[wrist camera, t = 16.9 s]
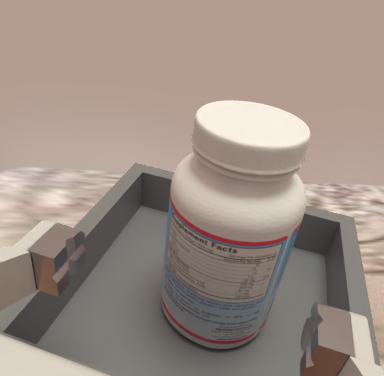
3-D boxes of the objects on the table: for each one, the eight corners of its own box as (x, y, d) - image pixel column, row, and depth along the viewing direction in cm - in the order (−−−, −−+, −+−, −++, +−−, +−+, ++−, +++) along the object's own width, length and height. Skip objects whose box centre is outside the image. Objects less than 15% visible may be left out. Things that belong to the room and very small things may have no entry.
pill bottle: (208, 251, 24) (239, 86, 17) (286, 309, 20) (357, 130, 14) (136, 298, 20) (145, 107, 14) (218, 380, 16) (276, 175, 10)
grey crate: (334, 260, 26) (353, 217, 24) (358, 555, 13) (408, 520, 10) (134, 205, 29) (135, 163, 26) (-17, 398, 15) (-39, 345, 13)
